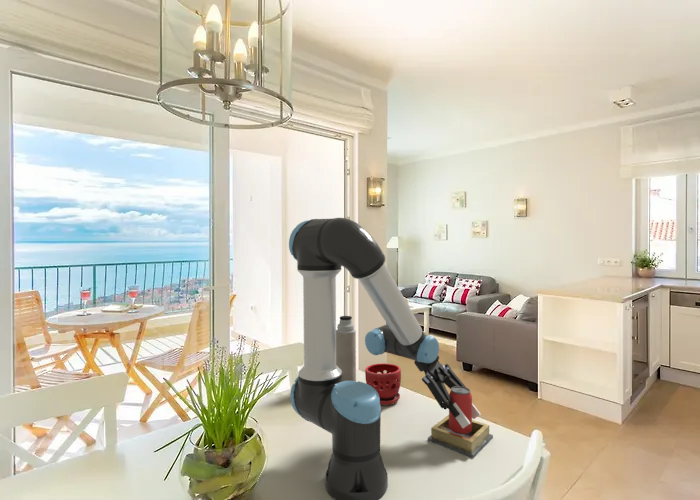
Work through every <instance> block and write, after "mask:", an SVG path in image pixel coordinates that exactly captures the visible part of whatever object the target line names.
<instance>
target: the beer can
mask: <svg viewBox="0 0 700 500" xmlns="http://www.w3.org/2000/svg"><path fill="white" fill-rule="evenodd" d="M449 395H450V397H451V399H452V401H453V404H454V403H456V404H457V405H458V407H459V408H460V409H461V411H462V412H463V413H464V415H465V416H466V417H467V419H468V420H469V422H470V424H469V425H467V426H466V427H465V428H462V426H461V425H460V424H459V422H458V421H457V420H456V418H455V417H454V416H453V415H452V413H451V412H450V411H449V410H448V415H449V428H450V430H452V431H453V432H455V433H458V434H468V433H470V432H471V431H472V420H473V418H472V403H473V396H472V393H471V389H470V388H468V387H467V386H466V387H462V386H455V387H452V388H451V389H450V392H449Z"/></svg>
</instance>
